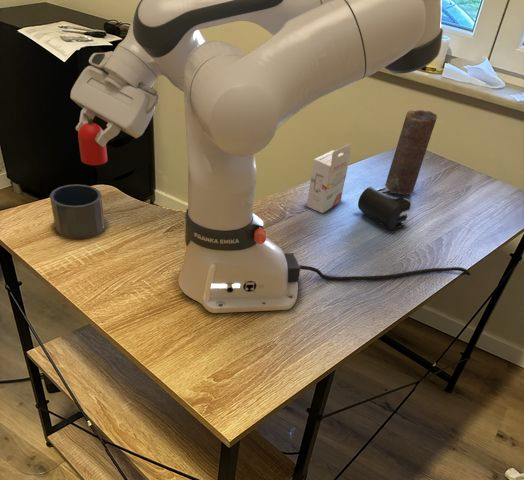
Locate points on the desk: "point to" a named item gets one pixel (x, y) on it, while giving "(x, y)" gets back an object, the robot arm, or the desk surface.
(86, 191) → the pot
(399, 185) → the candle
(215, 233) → the robot arm
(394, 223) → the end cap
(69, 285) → the desk surface
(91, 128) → the pepper
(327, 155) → the ink cartridge box
